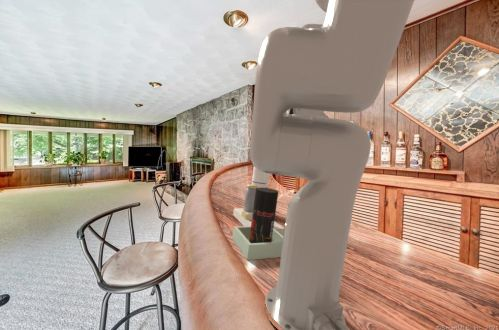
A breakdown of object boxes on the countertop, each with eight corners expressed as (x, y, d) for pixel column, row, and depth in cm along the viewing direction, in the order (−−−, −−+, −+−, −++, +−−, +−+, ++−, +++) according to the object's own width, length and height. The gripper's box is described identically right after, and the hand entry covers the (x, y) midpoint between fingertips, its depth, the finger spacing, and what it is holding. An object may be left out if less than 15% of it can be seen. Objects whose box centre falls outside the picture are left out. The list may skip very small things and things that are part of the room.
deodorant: (269, 252, 55) (277, 193, 53) (246, 247, 56) (253, 189, 55) (271, 243, 60) (279, 190, 59) (251, 238, 61) (257, 186, 60)
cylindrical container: (245, 208, 94) (252, 151, 92) (260, 208, 97) (267, 152, 95) (252, 214, 88) (260, 152, 86) (267, 213, 91) (275, 154, 89)
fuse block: (283, 236, 68) (289, 197, 67) (254, 237, 64) (259, 196, 63) (256, 214, 87) (260, 184, 87) (233, 214, 84) (237, 183, 83)
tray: (289, 256, 55) (291, 242, 55) (246, 259, 51) (248, 245, 50) (268, 237, 66) (270, 225, 66) (232, 238, 61) (233, 226, 61)
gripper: (292, 73, 59) (283, 136, 60) (340, 87, 66) (332, 144, 67) (278, 80, 66) (271, 136, 67) (323, 92, 73) (316, 143, 74)
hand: (301, 140), depth 67 cm, fingers open, 9 cm apart
